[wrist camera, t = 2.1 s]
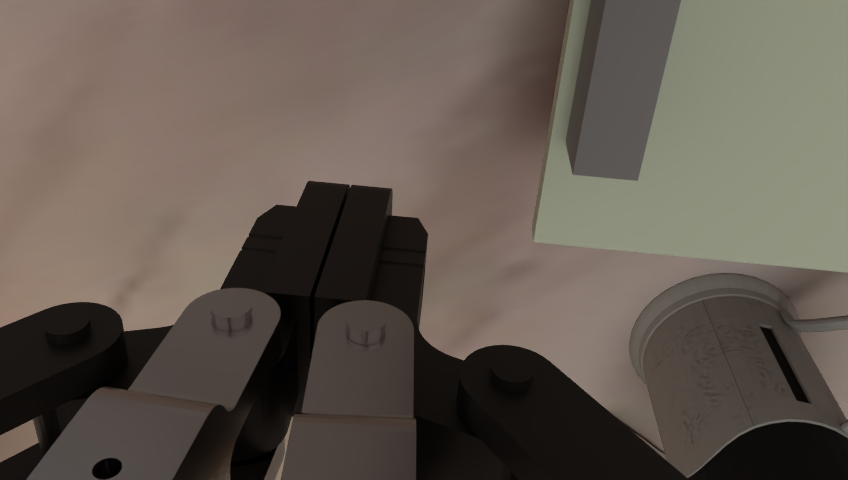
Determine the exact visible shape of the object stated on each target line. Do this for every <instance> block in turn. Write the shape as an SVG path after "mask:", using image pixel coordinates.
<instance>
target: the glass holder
mask: <svg viewBox="0 0 848 480" xmlns="http://www.w3.org/2000/svg"><path fill="white" fill-rule="evenodd" d="M844 329H848V315H847V316H839V317H830V318H821V319H810V320H799V318H798V315H797V313H796V310H795V308H794V306H793V305H792V303H791V302H790V300H789V299H788V297H786V296H785V295H784V294H783V293H782V292H781V291H780V290H779V289H778V288H776V287H774V286H773V285H771V284H770V283H768V282H765V281H763V280H760V279H758V278H755V277H751V276H747V275H742V274H730V273H721V274H709V275H704V276H700V277H695V278H692V279H689V280H686V281H684V282H681V283H679V284H677V285H675V286H673V287H671V288H669V289H667V290H666V291H664V292H663V293H661V294H660V295H659V296H657V297H656V298H655V299H654V300H653V301H652V302H651V303H650V304H649V305H648V306H647V307H646V308H645V309H644V310H643V311H642V313H641V314H640V316H639V317H638V319H637V320H636V323H635V325H634V327H633V330H632V333H631V338H630V356H631V360H632V364H633V366H634V368H635V370H636V372H637V374H638V376H639V377H640V378H641V379H642V380H643V382H644V383H645V384H646V385H647V387H648V391H649V395H650V399H651V402H652V406H653V410H654V414H655V417H656V421H657V425H658V429H659V432H660V436H661V440H662V444H663V447H664V451H665V455H666V459H667V461H668V462H669V463H670V464H671V465H672V466H674V467H675V468H676V469H677V470H678V471H680V472H681V473H682V474H683V475H684V476H685V477H687V478H688V479H689V480H848V420H847V419H846V417H845V416H844V414H843V412H842V410H841V408H840V407H839V405H838V403H837V401H836V400H835V398H834V396H833V394H832V392H831V391H830V389H829V387H828V385H827V384H826V382H825V380H824V378H823V377H822V375H821V373H820V371H819V369H818V368H817V366H816V364H815V362H814V361H813V359H812V357H811V355H810V353H809V352H808V350H807V348H806V346H805V345H804V343H803V341H802V339H801V338H800V331H802V332H822V331H834V330H844Z"/></svg>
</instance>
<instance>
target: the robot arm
mask: <svg viewBox="0 0 848 480" xmlns="http://www.w3.org/2000/svg"><path fill="white" fill-rule="evenodd" d="M427 239H428V233H427V232H426V230H425V229H424V227H423V225H422V224H421V222H420V220H419V219H418V218H411V217H400V216H392V189H390V188H380V187H369V186H359V185H352V186H351V188H350V186H349V185H347V184H336V183H326V182H315V181H308V182H307V184H306V187H305V189H304V191H303V193H302V196H301V198H300V200H299V202H298V205H297V207H294V206H284V205H276V206H274V207H273V208H271V209H270V210H268V211H267V212H265V213H264V214H262V215H261V216H260V217H258V218H257V220H256V222H255V224H254V226H253V228H252V229H251V231H250V233H249V237H247V239H246V241H245V243H244V245H243V247H242V251H240V252H239V254H238V256H237V258H236V260H235V262H234V264H233V266H232V268H231V269H230V271H229V273H228V275H227V277H226V279H225V281H224V283H223V285H222V287H221V289H220V290H215V291H212V292H209V293H206V294H204V295H202V296H200V297H198V298H197V299H195V300H194V301H192V302H191V303H190V304H189V305H188V306H187V307H186V308H185V310H184V311H183V313H182V314H181V316H180V317H179V318H178V320H177V321H176V323H175V324H174V325H171V326H167V327H160V328H152V329H143V330H134V331H125V332H124V329H123V323H122V319H121V317H120V315H119V314H118V313H117V312H116V311H115V310H113V309H112V308H110V307H107V306H105V305H101V304H97V303H90V302H76V303H68V304H62V305H58V306H54V307H51V308H48V309H45V310H43V311H40V312H38V313H35V314H33V315H30V316H28V317H25V318H23V319H20V320H18V321H16V322H13V323H11V324H8V325H6V326H3V327H1V328H0V435H2V434H3V433H5V432H8V431H10V430H12V429H14V428H15V427H18V426H20V425H22V424H24V423H26V422H28V421H30V420H32V419H33V421H34V425H35V429H36V433H37V437H38V441H39V443H37V444H35V445H33V446H31V447H29V448H28V449H26V450H24V451H22V452H20V453H18V454H16V455H14V456H12V457H10V458H8V459H6V460H4V461H2V462H0V480H275V478H276V475H277V473H278V470H279V468H280V465H281V463H282V460H283V457H284V454H285V439H284V438H285V436H286V433H287V431H288V427H289V424H290V421H291V418H292V417H293V421H292V425H291V430H290V435H289V440H288V445H287V450H286V455H285V461H284V466H283V471H282V476H281V480H689V479H688V478H687V477H685V476H684V475H683V474H682V473H681V472H680V471H678V470H677V469H676V468H675V467H674V466H672V465H671V464H670V463H669V462H668V461H667V460H665V459H664V458H663V457H662V456H661V455H659V454H658V453H657V452H656V451H655V450H654V449H652V448H651V447H650V446H649V445H648V444H647V443H645V442H644V441H643V440H642V439H641V438H639V437H638V436H637V435H636V434H635V433H634V432H632V431H631V430H630V429H629V428H628V427H626V426H625V425H624V424H623V423H622V422H621V421H619V420H618V419H617V418H616V417H615V416H613V415H612V414H611V413H610V412H609V411H608V410H606V409H605V408H604V407H603V406H602V405H600V404H599V403H598V402H597V401H596V400H595V399H593V398H592V397H591V396H590V395H589V394H587V393H586V392H585V391H584V390H583V389H582V388H580V387H579V386H578V385H577V384H576V383H574V382H573V381H572V380H571V379H570V378H569V377H567V376H566V375H565V374H564V373H563V372H561V371H560V370H559V369H558V368H557V367H556V366H554V365H553V364H552V363H551V362H550V361H548V360H547V359H546V358H544V357H543V356H541V355H539V354H537V353H536V352H533V351H531V350H528V349H525V348H521V347H517V346H511V345H494V346H488V347H484V348H481V349H479V350H476V351H474V352H473V353H471V354H470V355H469V356H468V357H467V358H466V359H465V360H464V361H463V360H460V359H458V358H455V357H452V356H449V355H447V354H444V353H443V352H441V351H439V350H437V349H436V348H434V347H433V346H431V345H430V344H429V343H428V342H427V341H426V340H425V339H424V338H423V336H422V335H421V333H420V331H419V324H420V316H421V308H422V298H423V286H424V274H425V262H426V251H427Z"/></svg>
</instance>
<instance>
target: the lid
mask: <svg viewBox="0 0 848 480" xmlns="http://www.w3.org/2000/svg"><path fill="white" fill-rule="evenodd" d="M532 234H533V242H536V243H546V244H557V245H567V246H577V247H588V248H598V249H608V250H619V251H629V252H640V253H650V254H660V255H671V256H681V257H691V258H702V259H712V260H723V261H733V262H743V263H754V264H764V265H774V266H785V267H795V268H806V269H816V270H826V271H837V272H847V273H848V0H570V2H569V8H568V14H567V20H566V26H565V32H564V38H563V44H562V50H561V56H560V62H559V68H558V75H557V81H556V87H555V93H554V99H553V105H552V111H551V117H550V123H549V129H548V135H547V141H546V147H545V153H544V159H543V165H542V171H541V177H540V183H539V189H538V195H537V201H536V207H535V213H534V219H533V225H532Z"/></svg>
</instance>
